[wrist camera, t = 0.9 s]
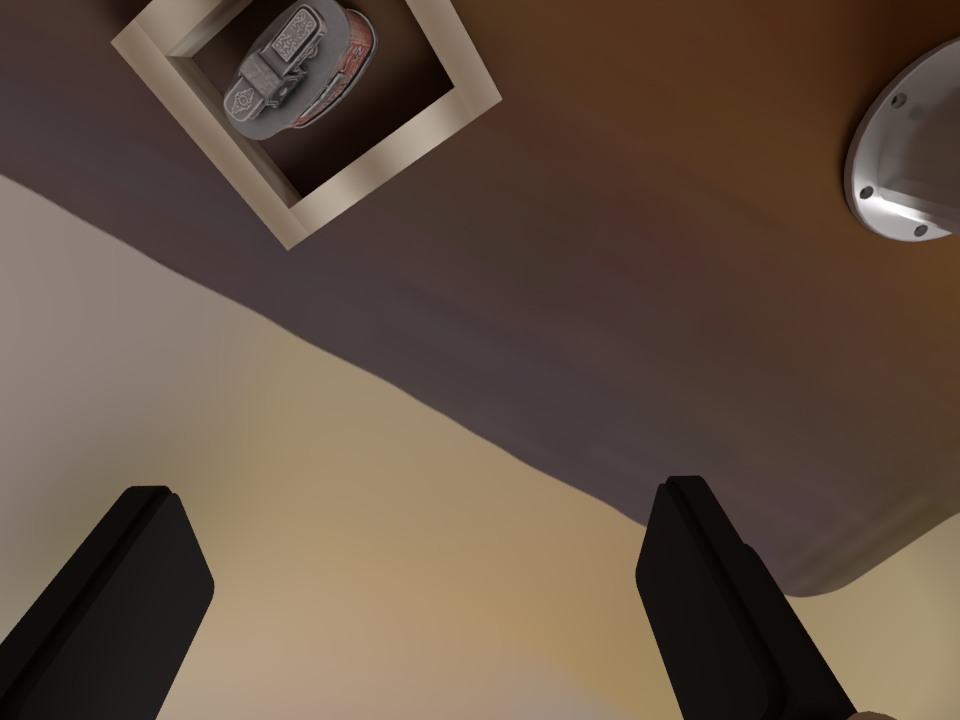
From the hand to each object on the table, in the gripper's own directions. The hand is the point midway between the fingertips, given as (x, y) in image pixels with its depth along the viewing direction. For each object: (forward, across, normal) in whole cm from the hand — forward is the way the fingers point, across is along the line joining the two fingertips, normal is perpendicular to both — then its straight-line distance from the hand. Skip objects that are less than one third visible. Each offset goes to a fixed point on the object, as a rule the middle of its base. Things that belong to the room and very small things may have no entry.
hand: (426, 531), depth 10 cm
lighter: (+29, +8, -8) cm, 31 cm away
